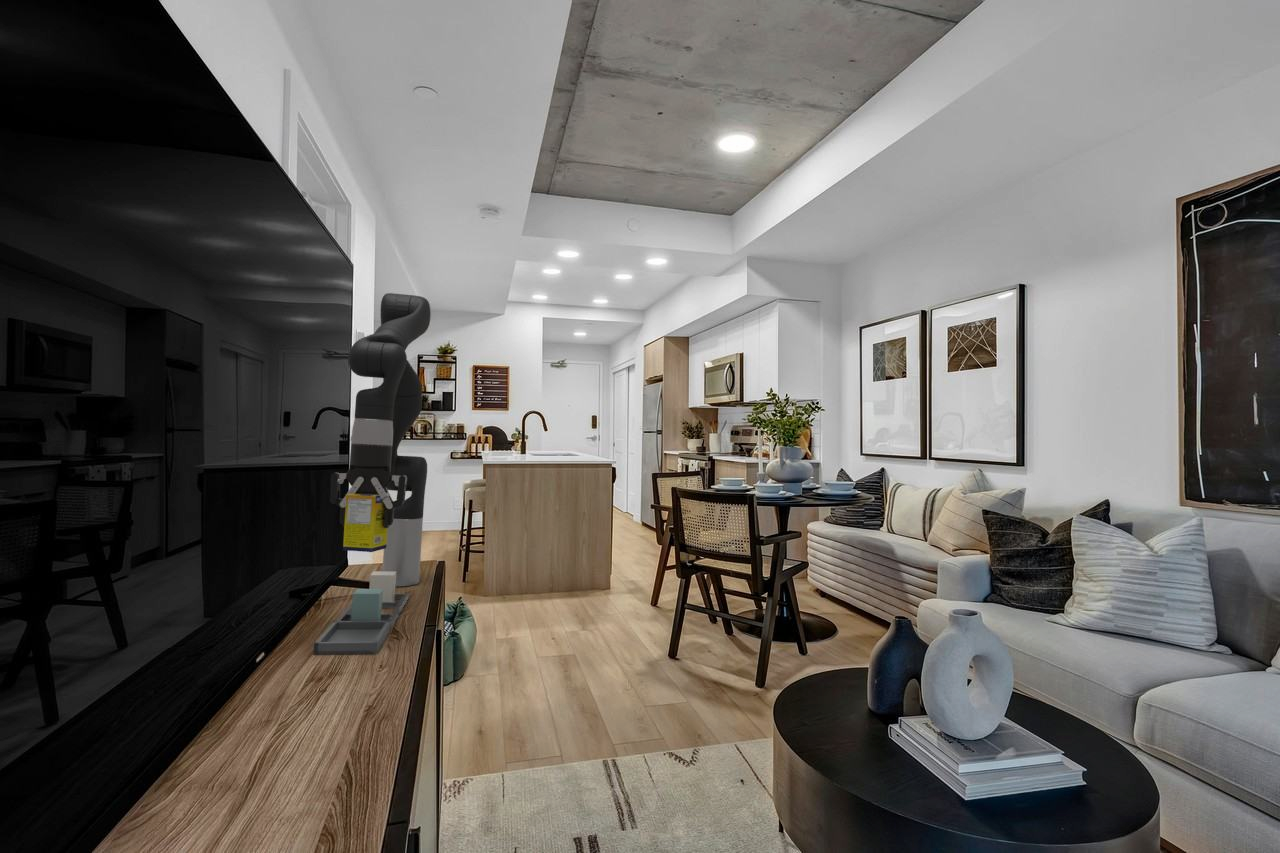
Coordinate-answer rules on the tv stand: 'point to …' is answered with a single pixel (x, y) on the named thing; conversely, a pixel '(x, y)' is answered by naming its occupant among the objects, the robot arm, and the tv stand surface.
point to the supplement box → (364, 523)
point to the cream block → (384, 584)
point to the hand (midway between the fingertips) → (366, 527)
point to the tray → (352, 638)
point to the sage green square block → (367, 605)
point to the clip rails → (390, 617)
